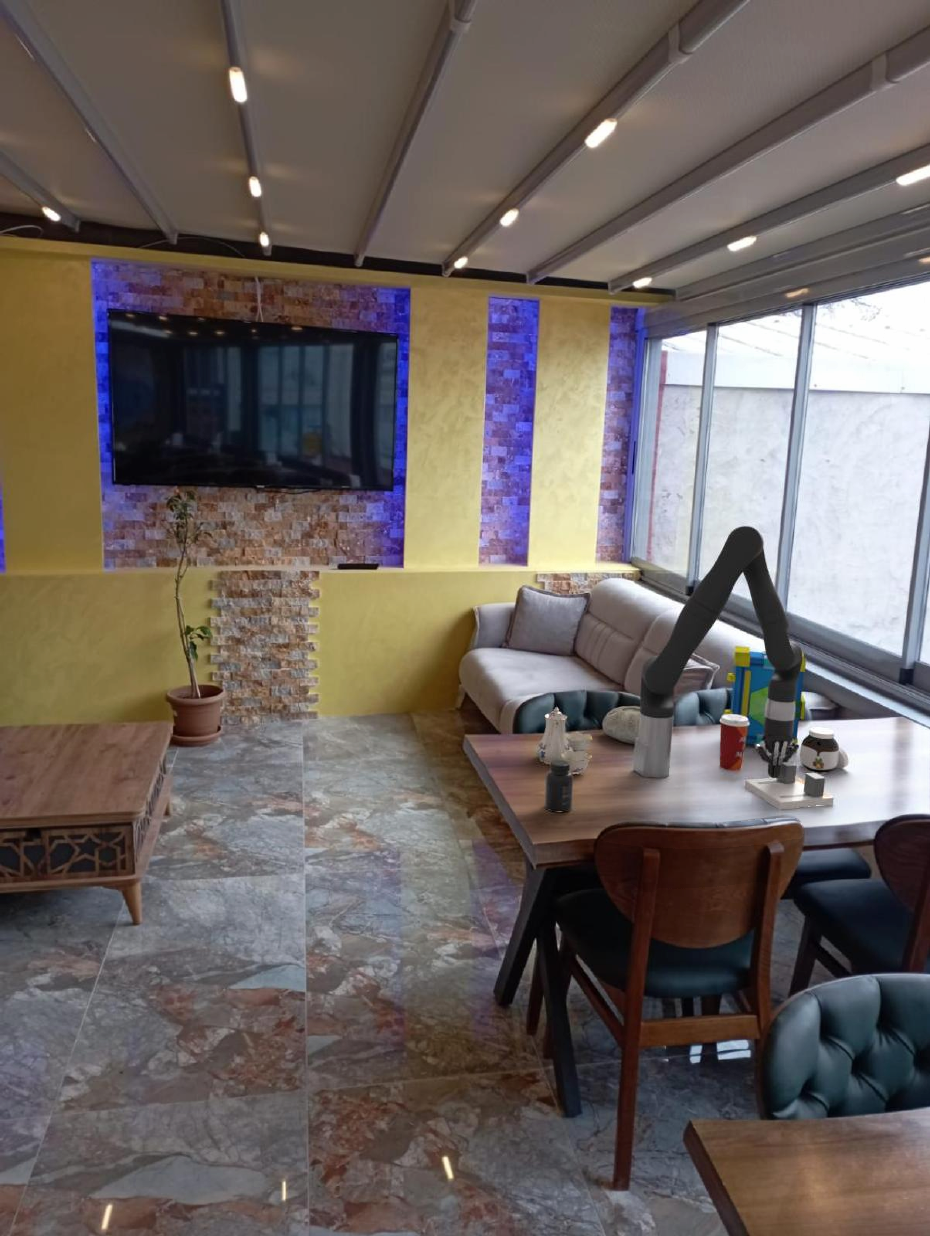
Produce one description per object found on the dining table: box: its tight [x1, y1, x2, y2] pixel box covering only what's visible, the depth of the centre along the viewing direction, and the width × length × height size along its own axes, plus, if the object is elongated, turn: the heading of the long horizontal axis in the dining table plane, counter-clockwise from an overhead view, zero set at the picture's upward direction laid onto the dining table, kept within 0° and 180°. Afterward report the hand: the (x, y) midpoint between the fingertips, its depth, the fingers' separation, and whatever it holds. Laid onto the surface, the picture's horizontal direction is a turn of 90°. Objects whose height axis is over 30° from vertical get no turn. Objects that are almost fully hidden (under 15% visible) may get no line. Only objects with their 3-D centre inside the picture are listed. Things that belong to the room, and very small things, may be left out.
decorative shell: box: [601, 705, 640, 745], centre depth 279 cm, size 18×18×10 cm
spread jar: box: [799, 726, 849, 774], centre depth 258 cm, size 12×11×12 cm
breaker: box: [804, 772, 826, 797], centre depth 232 cm, size 3×4×5 cm
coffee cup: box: [719, 714, 749, 772], centre depth 256 cm, size 8×8×15 cm
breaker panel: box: [744, 776, 835, 811], centre depth 236 cm, size 16×16×2 cm
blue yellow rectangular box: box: [723, 645, 807, 754], centre depth 277 cm, size 14×23×30 cm, turn 75°
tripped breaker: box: [777, 760, 798, 784], centre depth 241 cm, size 3×4×5 cm
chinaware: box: [534, 706, 593, 775], centre depth 256 cm, size 28×17×17 cm, turn 176°
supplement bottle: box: [544, 760, 574, 812], centre depth 222 cm, size 7×7×12 cm
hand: (773, 777), depth 240 cm, fingers closed
